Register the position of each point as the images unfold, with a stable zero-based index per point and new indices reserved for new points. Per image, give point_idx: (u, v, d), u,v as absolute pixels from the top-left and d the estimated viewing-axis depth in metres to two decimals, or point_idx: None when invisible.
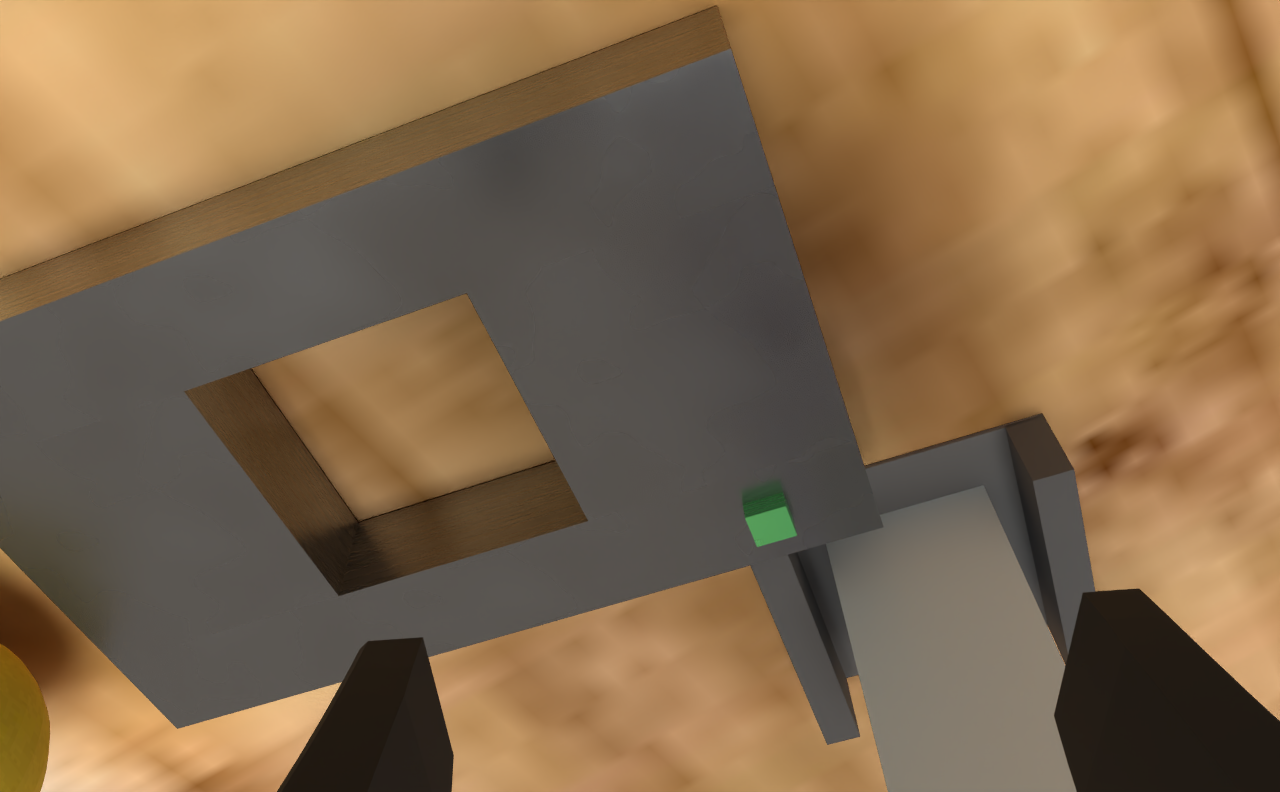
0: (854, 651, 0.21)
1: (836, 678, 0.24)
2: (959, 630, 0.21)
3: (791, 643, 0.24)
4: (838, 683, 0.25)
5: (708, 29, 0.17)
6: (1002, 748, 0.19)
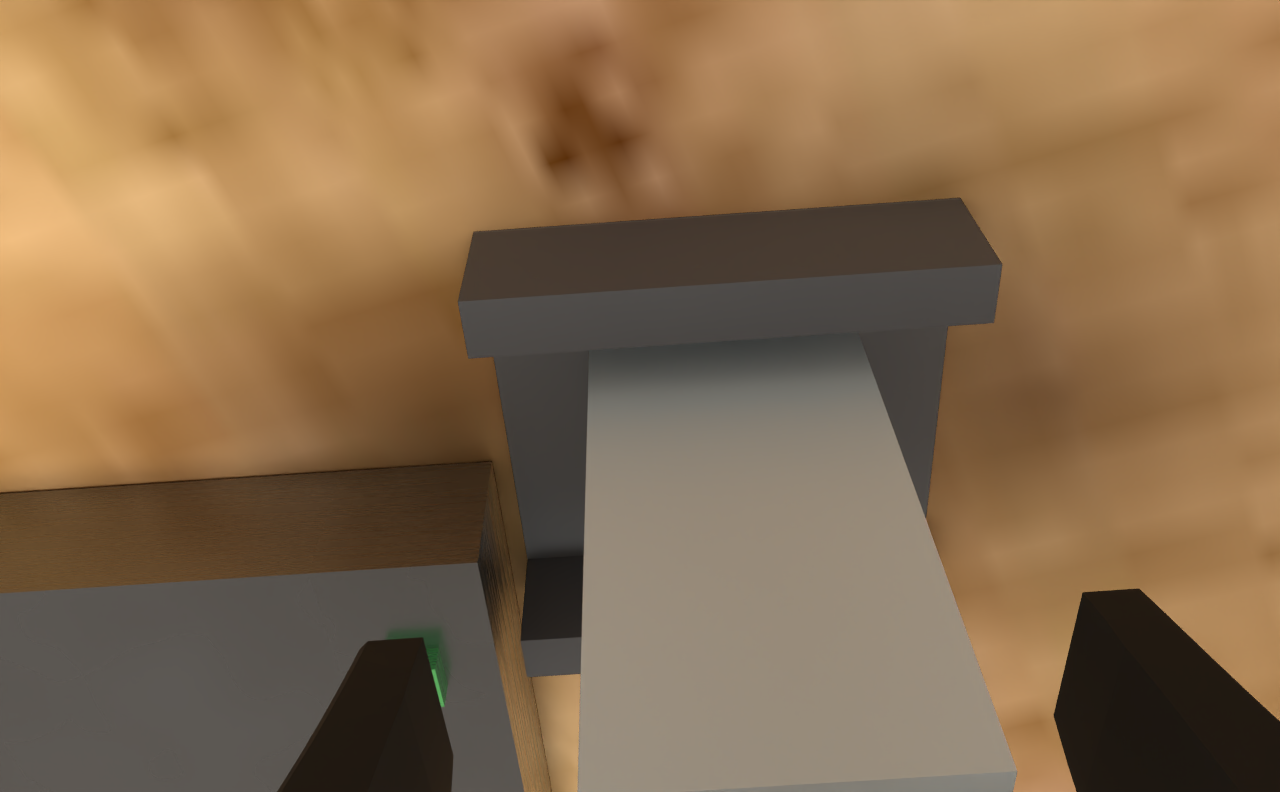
0: None
1: None
2: None
3: None
4: None
5: None
6: None
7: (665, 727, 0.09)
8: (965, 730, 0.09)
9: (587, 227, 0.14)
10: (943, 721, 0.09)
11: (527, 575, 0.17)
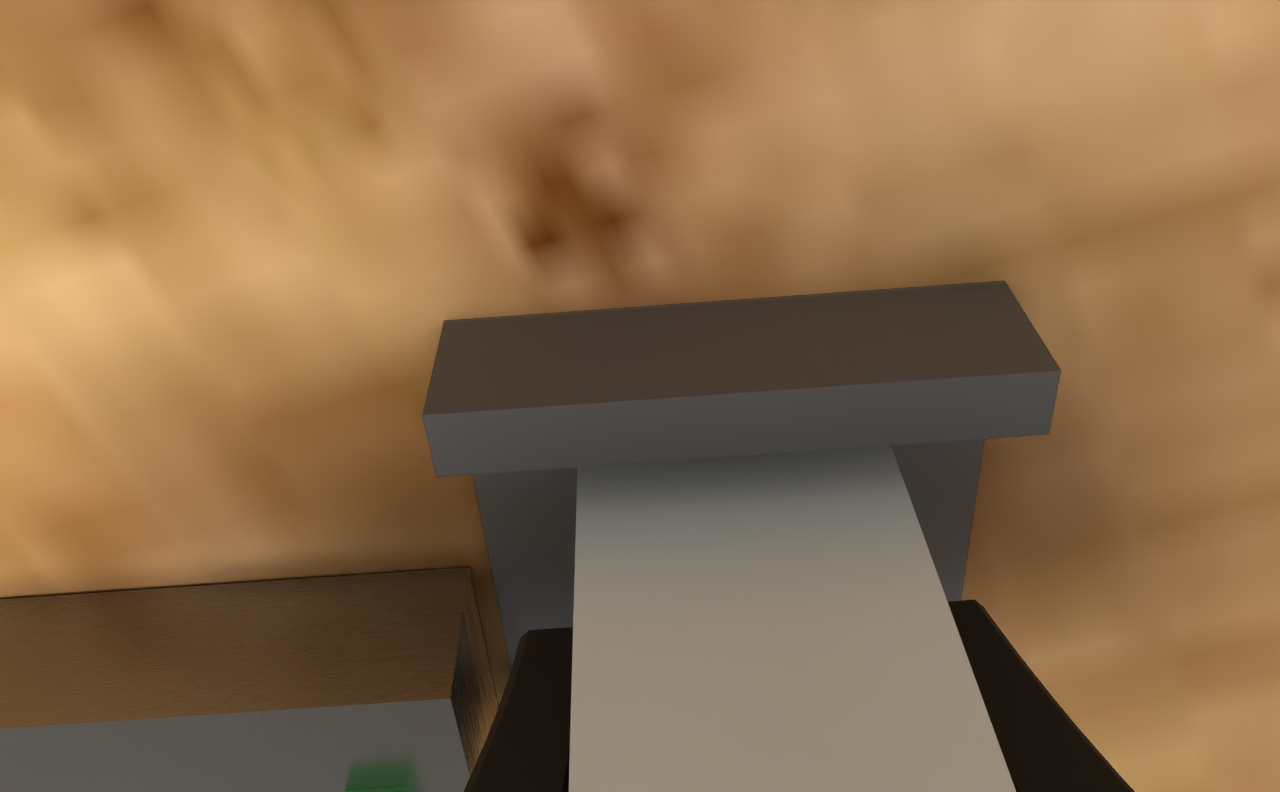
0: None
1: None
2: None
3: None
4: None
5: None
6: None
7: None
8: None
9: (575, 316, 0.12)
10: None
11: None
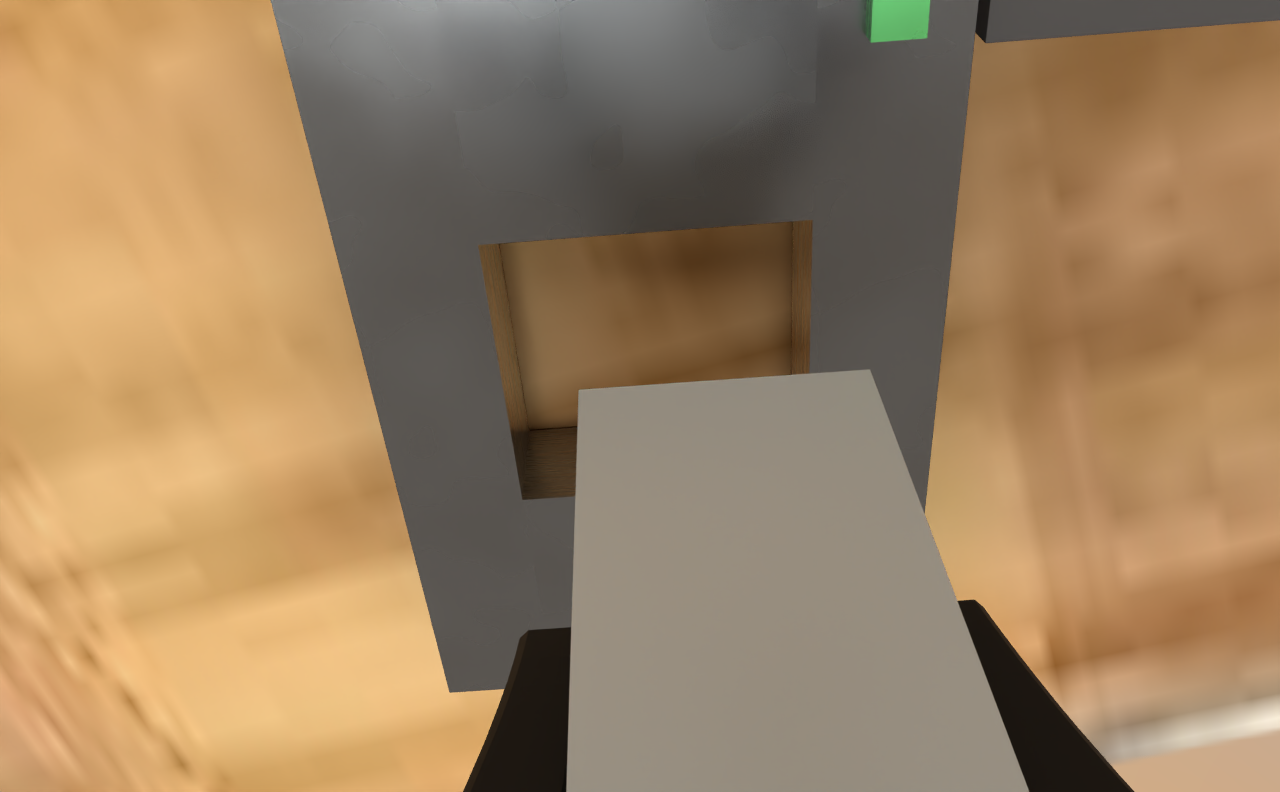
0: None
1: None
2: None
3: (1168, 18, 0.16)
4: None
5: None
6: None
7: None
8: None
9: None
10: None
11: None
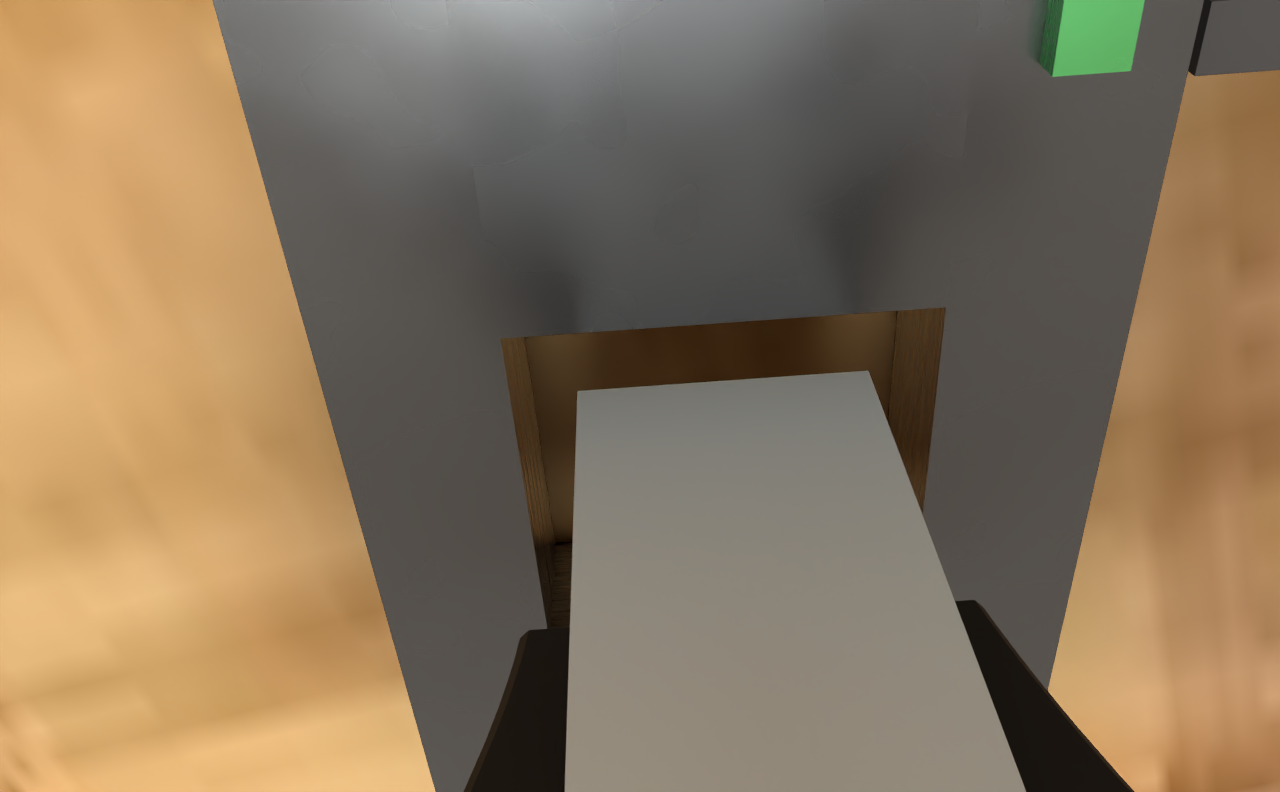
0: None
1: None
2: None
3: None
4: None
5: None
6: None
7: None
8: None
9: None
10: None
11: None
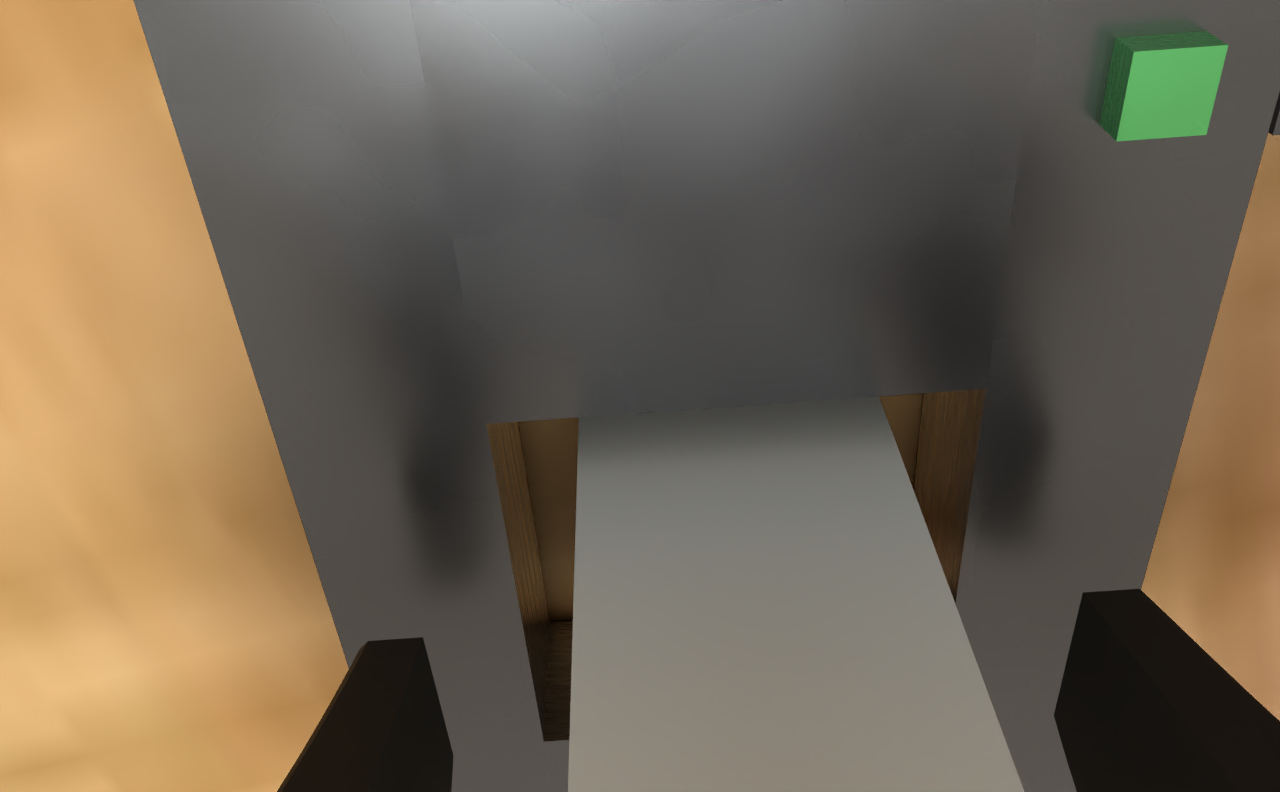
0: None
1: None
2: None
3: None
4: None
5: None
6: None
7: None
8: None
9: None
10: None
11: None
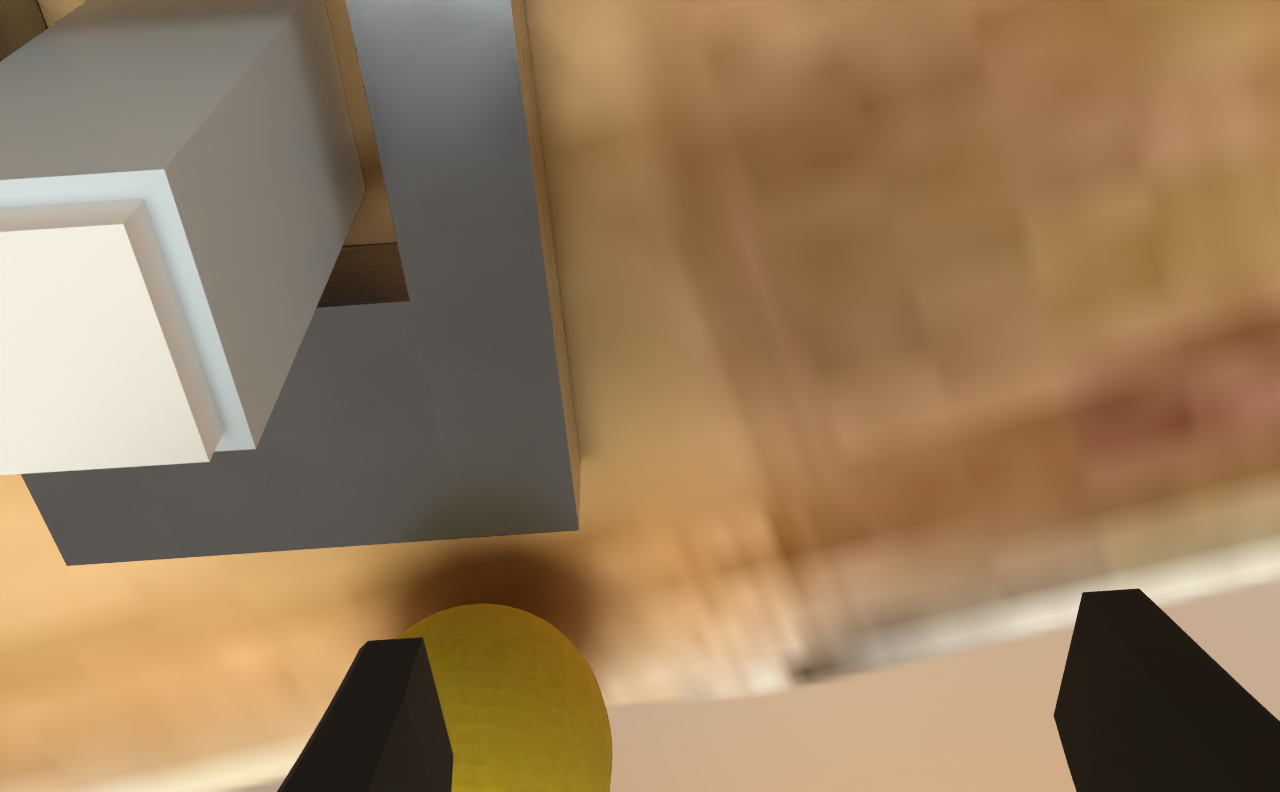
0: None
1: None
2: None
3: None
4: None
5: None
6: None
7: None
8: (147, 155, 0.11)
9: None
10: (137, 151, 0.11)
11: None
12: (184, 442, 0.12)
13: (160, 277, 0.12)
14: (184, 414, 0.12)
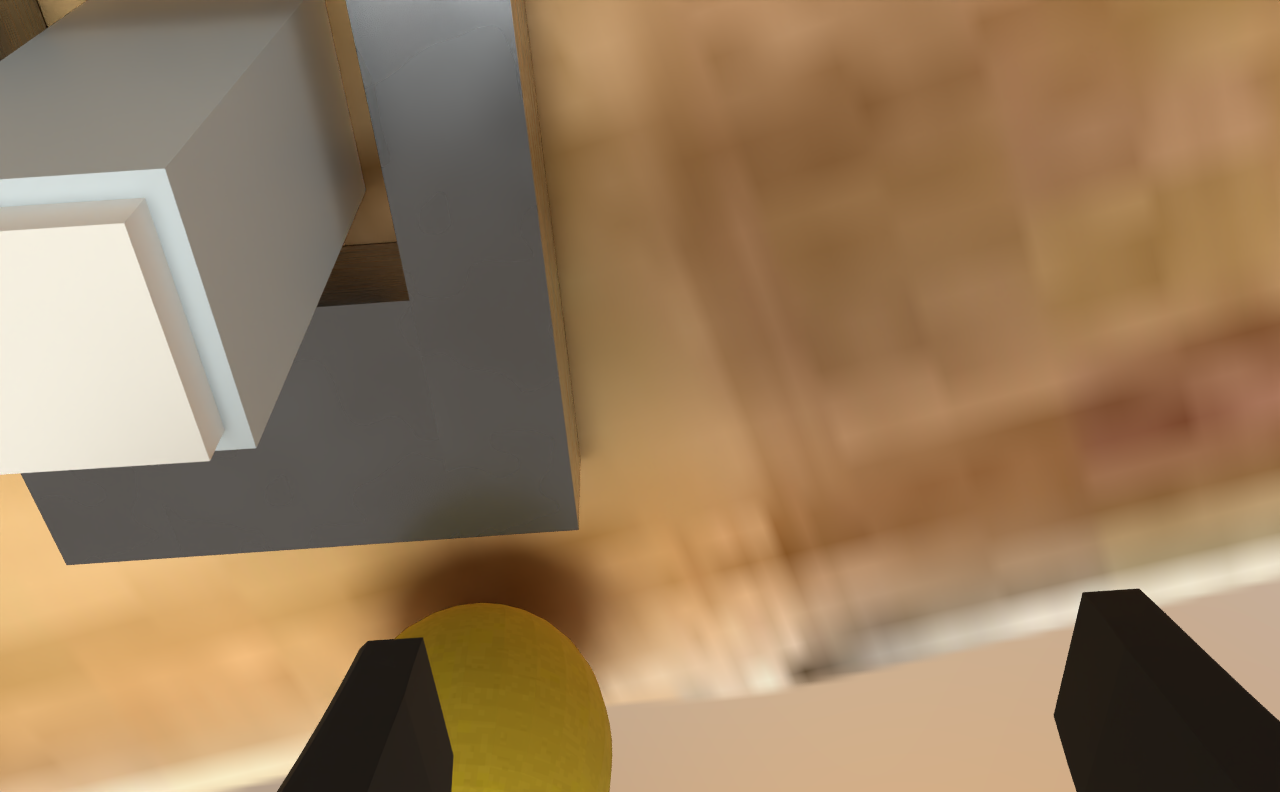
0: None
1: None
2: None
3: None
4: None
5: None
6: None
7: None
8: (147, 154, 0.11)
9: None
10: (137, 151, 0.12)
11: None
12: (184, 441, 0.12)
13: (161, 277, 0.12)
14: (185, 413, 0.12)
